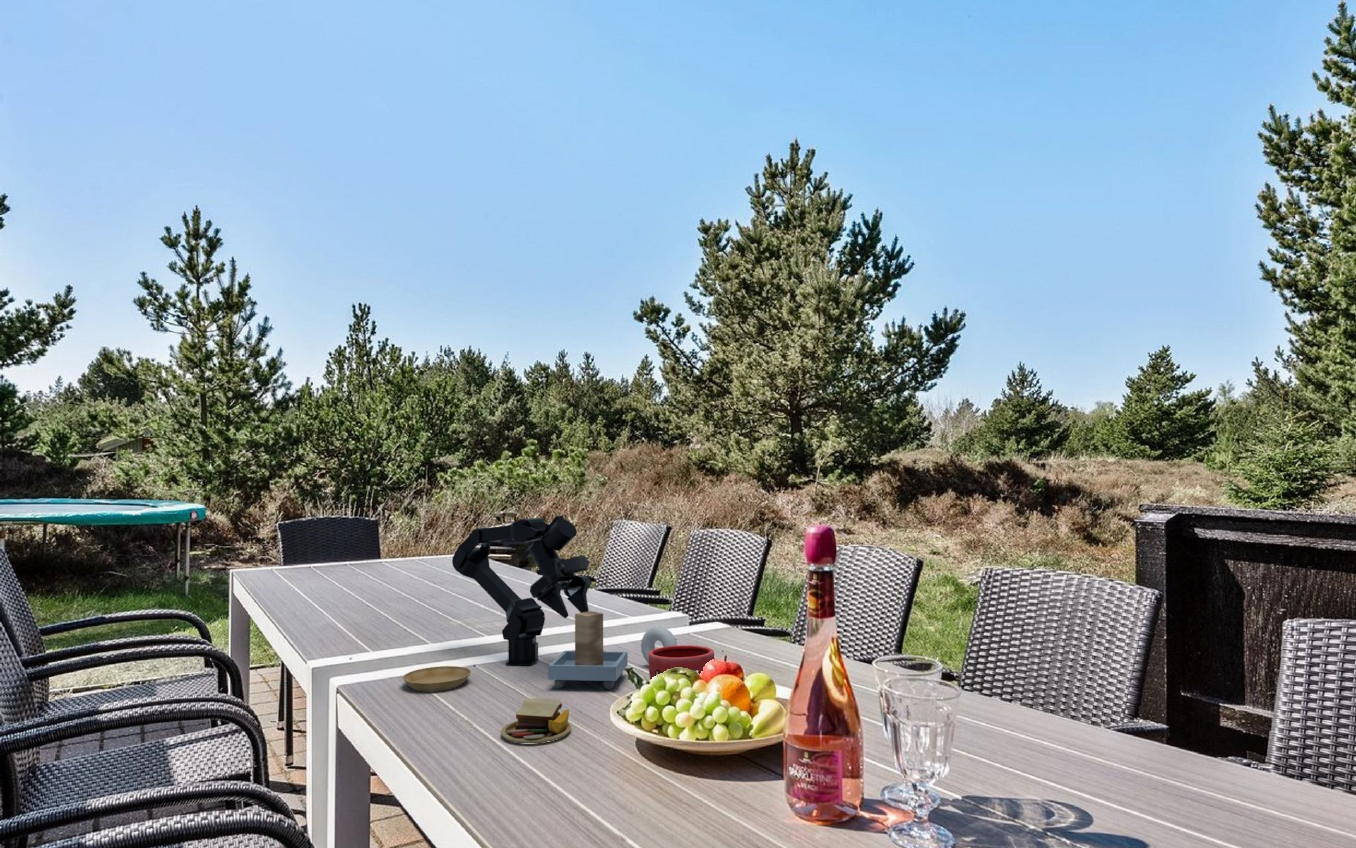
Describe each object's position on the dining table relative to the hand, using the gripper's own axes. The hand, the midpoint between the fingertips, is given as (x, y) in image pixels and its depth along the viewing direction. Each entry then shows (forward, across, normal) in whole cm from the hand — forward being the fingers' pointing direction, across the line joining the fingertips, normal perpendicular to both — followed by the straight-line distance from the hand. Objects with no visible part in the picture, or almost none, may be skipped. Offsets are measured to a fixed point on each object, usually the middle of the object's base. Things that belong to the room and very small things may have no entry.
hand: (577, 616), depth 183 cm
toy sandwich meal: (+24, -36, -1) cm, 44 cm away
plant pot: (+34, -14, -18) cm, 41 cm away
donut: (+19, +14, -5) cm, 24 cm away
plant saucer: (-1, -19, +29) cm, 34 cm away
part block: (+13, -5, +1) cm, 13 cm away
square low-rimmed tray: (+15, -4, +3) cm, 16 cm away
